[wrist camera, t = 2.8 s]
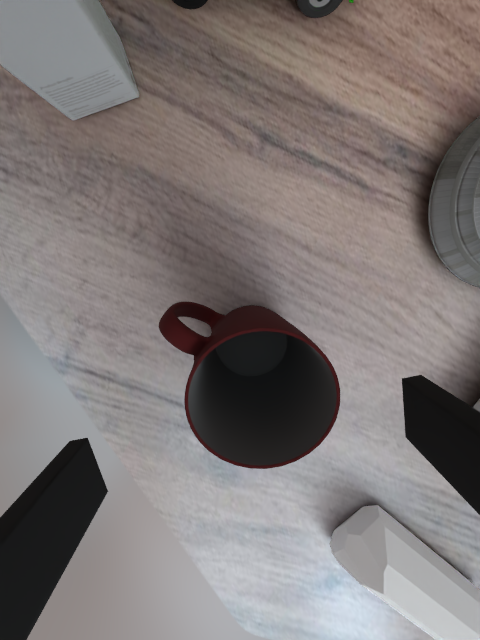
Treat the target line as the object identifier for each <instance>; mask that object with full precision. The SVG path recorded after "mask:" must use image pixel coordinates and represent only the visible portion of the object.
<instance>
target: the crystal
mask: <svg viewBox="0 0 480 640" xmlns="http://www.w3.org/2000/svg"><path fill="white" fill-rule="evenodd" d="M330 547H331V550H332V553H333V555H334V557H335V558H336V560H337V561H338V563H339V564H340V565H341V566H342V567H343V568H344V569H345V570H346V571H347V572H348V573H349V574H350V575H351V576H353V577H354V578H355V579H356V580H357V581H358V582H359V583H360V584H361V585H362V586H363V587H365V588H366V589H367V590H369V591H370V592H372V593H373V594H374V595H376V596H377V597H378V598H380V599H381V600H382V601H384V602H385V603H386V604H388V605H389V606H391V607H392V608H393V609H395V610H396V611H397V612H399V613H400V614H401V615H403V616H404V617H405V618H407V619H408V620H410V621H411V622H412V623H414V624H415V625H416V626H418V627H419V628H420V629H422V630H423V631H424V632H426V633H427V634H429V635H430V636H431V637H433V638H434V639H435V640H480V589H479V588H477V587H476V586H475V585H474V584H472V583H471V582H470V581H469V580H468V579H466V578H465V577H464V576H463V575H462V574H460V573H459V572H458V571H457V570H456V569H454V568H453V567H452V566H451V565H449V564H448V563H447V562H446V561H445V560H443V559H442V558H441V557H440V556H439V555H437V554H436V553H435V552H434V551H433V550H431V549H430V548H429V547H428V546H427V545H425V544H424V543H423V542H422V541H420V540H419V539H418V538H417V537H416V536H414V535H413V534H412V533H411V532H410V531H408V530H407V529H406V528H405V527H404V526H402V525H401V524H400V523H399V522H397V521H396V520H395V519H394V518H393V517H391V516H390V515H389V514H388V513H387V512H385V511H384V510H383V509H382V508H381V507H379V506H378V505H373V506H363V507H362V508H361V509H359V510H358V511H357V512H356V513H354V514H353V515H352V516H351V517H349V518H348V519H347V520H346V521H345V522H343V523H342V524H341V525H340V526H338V527H337V528H336V529H335V530H334V531H333V534H332V537H331V541H330Z"/></svg>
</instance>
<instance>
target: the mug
mask: <svg viewBox="0 0 480 640" xmlns="http://www.w3.org/2000/svg"><path fill="white" fill-rule="evenodd" d="M183 316H184V317H191V318H195V319H198V320H201V321H203V322H205V323H207V324H208V325H209V326H210V327H211V332H212V333H211V336H209V337H204V336H202V335H199V334H198V333H196V332H194V331H193V330H191V329H190V328H188V327H187V326H186V325H185V324H183V323H182V322H181V321H180V320H179V319H178V317H183ZM159 329H160V331H161V333H162V335H163V336H164V337H165V339H166V340H167V341H169V342H170V343H171V344H172V345H173V346H175V347H176V348H178V349H180V350H181V351H183V352H185V353H188V354H191V355H194V365H193V368H192V370H191V373H190V375H189V378H188V382H187V385H186V390H185V410H186V416H187V419H188V422H189V425H190V427H191V429H192V431H193V433H194V434H195V436H196V437H197V439H198V440H199V441H200V443H201V444H202V445H203V446H204V447H205V448H206V449H207V450H209V451H210V452H211V453H213V454H214V455H215V456H217V457H219V458H220V459H222V460H224V461H226V462H229V463H231V464H234V465H237V466H242V467H247V468H258V469H267V468H273V467H280V466H283V465H286V464H289V463H292V462H295V461H297V460H299V459H300V458H302V457H304V456H306V455H307V454H309V453H310V452H311V451H313V450H314V449H315V448H316V447H317V446H319V445H320V444H321V442H322V441H323V440H324V439H325V438H326V436H327V435H328V434H329V432H330V430H331V429H332V427H333V425H334V423H335V421H336V418H337V414H338V410H339V406H340V387H339V382H338V378H337V375H336V372H335V370H334V368H333V366H332V364H331V362H330V361H329V360H328V358H327V357H326V355H325V354H324V353H323V352H322V351H321V350H320V349H319V348H318V346H317V345H316V344H314V343H313V342H312V341H311V340H310V339H309V338H308V337H307V336H306V335H305V334H303V333H302V332H301V331H300V330H298V329H297V328H296V327H294V326H293V325H292V324H290V323H289V322H287V321H286V320H285V319H283V318H282V317H280V316H279V315H278V314H276V313H275V312H273V311H271V310H269V309H267V308H265V307H261V306H254V305H249V306H243V307H239V308H236V309H234V310H232V311H231V312H229V313H228V314H226V315H222V314H219V313H217V312H215V311H214V310H212V309H210V308H208V307H206V306H204V305H201V304H198V303H194V302H178V303H175V304H174V305H172V306H171V307H170V308H169V309H168V310H167V311H166V312H165V314H164V315H163V316H162V318H161V320H160V322H159Z"/></svg>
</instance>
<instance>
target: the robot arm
mask: <svg viewBox="0 0 480 640" xmlns="http://www.w3.org/2000/svg"><path fill="white" fill-rule="evenodd" d="M402 387H403V402H404V417H405V433H406V438H407V439H408V440H409V441H410V442H411V443H412V444H413V445H414V446H415V447H416V448H417V450H418V451H419V452H420V453H421V454H422V455H423V456H424V457H425V458H426V459H427V460H428V461H429V462H430V463H431V464H432V465H433V466H434V467H435V468H436V470H437V471H438V472H439V473H440V474H441V475H442V476H443V477H444V478H445V479H446V480H447V481H448V482H449V483H450V484H451V485H452V486H453V487H454V488H455V489H456V491H457V492H458V493H459V494H460V495H461V496H462V497H463V498H464V499H465V500H466V501H467V502H468V503H469V504H470V505H471V506H472V507H473V508H474V509H475V511H476V512H477V513H478V514H479V515H480V412H479V411H477V410H476V409H474V408H473V407H471V406H470V405H468V404H466V403H465V402H463V401H462V400H460V399H458V398H457V397H455V396H454V395H452V394H450V393H449V392H447V391H446V390H444V389H442V388H441V387H439V386H438V385H436V384H435V383H433V382H431V381H430V380H428V379H427V378H425V377H423V376H422V375H418V376H413V377H408V378H402ZM107 492H108V490H107V488H106V485H105V482H104V480H103V478H102V475H101V472H100V469H99V467H98V464H97V461H96V459H95V456H94V454H93V451H92V448H91V446H90V443H89V440H88V438H84V439H78V440H73V441H70V442H69V443H68V444H67V445H66V446H65V447H64V448H63V449H62V450H61V451H60V452H59V454H58V455H57V456H56V457H55V458H54V459H53V460H52V461H51V462H50V463H49V465H48V466H47V467H46V468H45V469H44V470H43V471H42V472H41V474H40V475H39V476H38V477H37V478H36V479H35V480H34V481H33V482H32V483H31V485H30V486H29V487H28V488H27V489H26V490H25V491H24V492H23V493H22V494H21V495H20V497H19V498H18V499H17V500H16V501H15V502H14V503H13V504H12V505H11V507H10V508H9V509H8V510H7V511H6V512H5V513H4V514H3V515H2V516H1V517H0V640H27V638H28V636H29V634H30V632H31V630H32V629H33V627H34V625H35V623H36V621H37V619H38V618H39V616H40V614H41V612H42V610H43V609H44V607H45V605H46V603H47V601H48V599H49V598H50V596H51V594H52V592H53V590H54V588H55V587H56V585H57V583H58V581H59V579H60V578H61V576H62V574H63V572H64V570H65V568H66V567H67V565H68V563H69V561H70V559H71V558H72V556H73V554H74V552H75V550H76V548H77V547H78V545H79V543H80V541H81V539H82V537H83V536H84V534H85V532H86V530H87V528H88V527H89V525H90V523H91V521H92V519H93V518H94V516H95V514H96V512H97V510H98V508H99V507H100V505H101V503H102V501H103V499H104V497H105V495H106V494H107Z"/></svg>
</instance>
